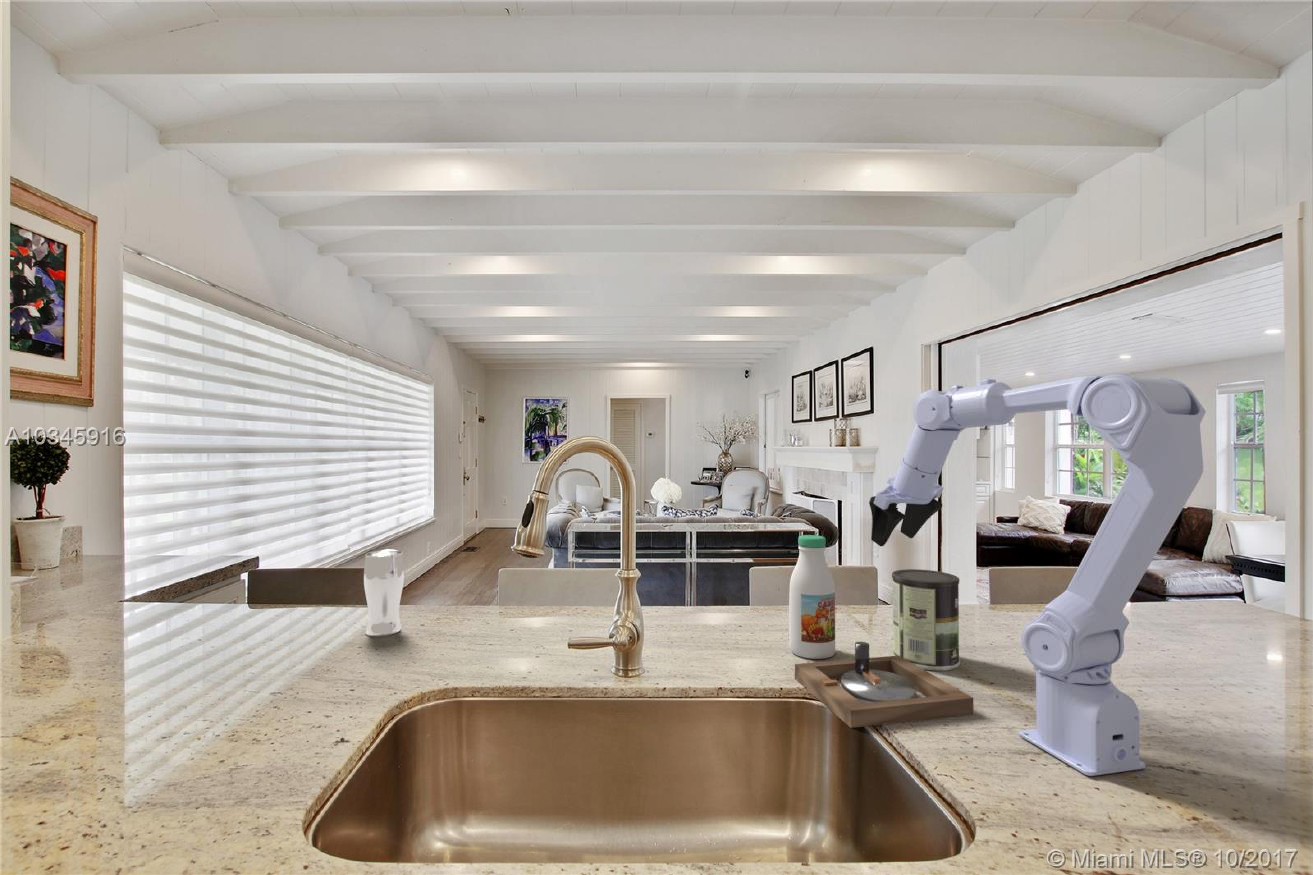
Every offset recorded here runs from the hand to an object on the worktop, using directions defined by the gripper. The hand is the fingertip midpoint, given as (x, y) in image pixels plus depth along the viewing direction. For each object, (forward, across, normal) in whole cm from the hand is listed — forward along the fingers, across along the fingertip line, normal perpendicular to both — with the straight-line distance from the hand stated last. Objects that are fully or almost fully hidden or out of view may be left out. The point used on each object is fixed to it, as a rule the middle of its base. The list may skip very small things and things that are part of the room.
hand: (892, 538), depth 95 cm
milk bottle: (+23, +8, -1) cm, 25 cm away
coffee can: (+19, -5, +10) cm, 22 cm away
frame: (+15, +13, +14) cm, 24 cm away
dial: (+15, +13, +14) cm, 24 cm away
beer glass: (+41, +69, -50) cm, 94 cm away
